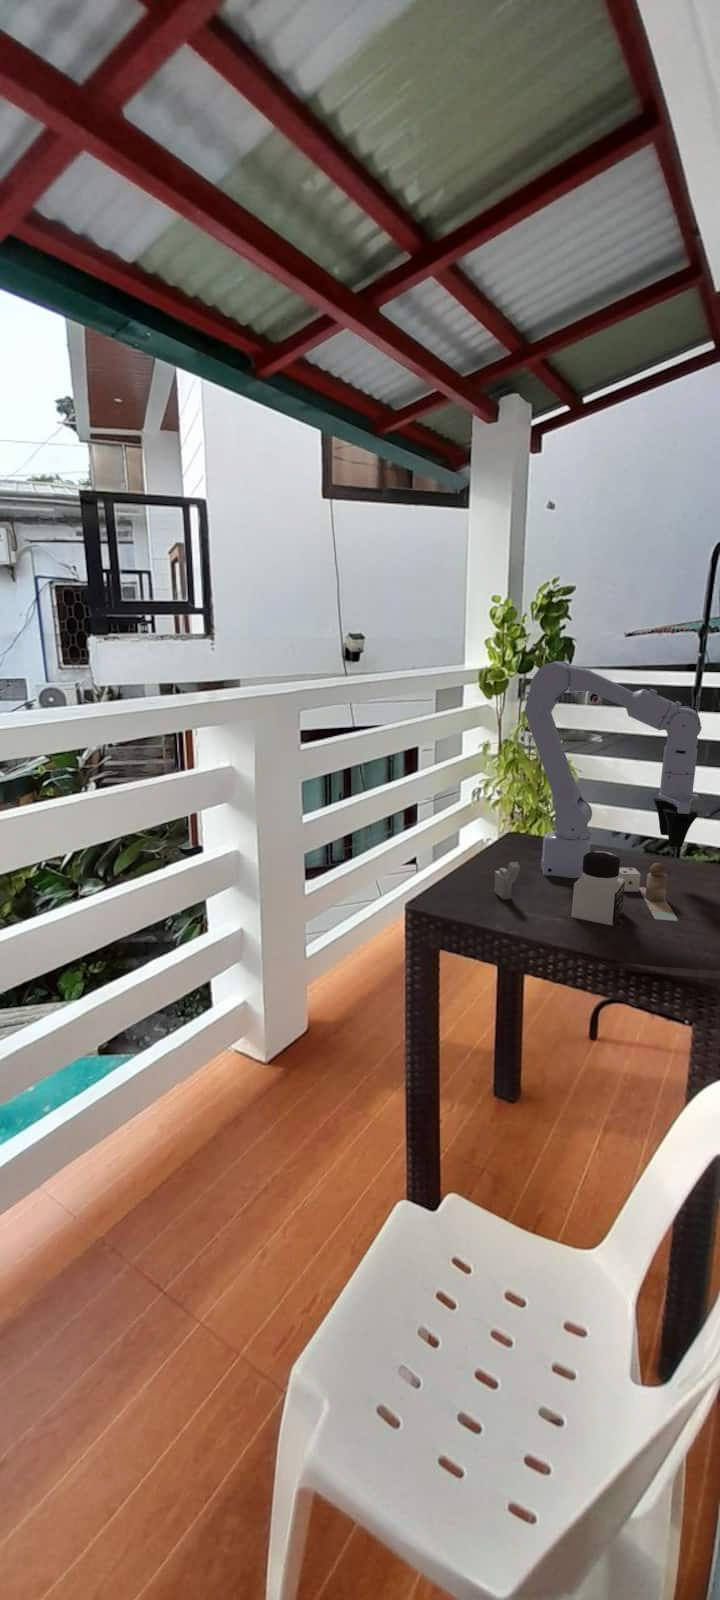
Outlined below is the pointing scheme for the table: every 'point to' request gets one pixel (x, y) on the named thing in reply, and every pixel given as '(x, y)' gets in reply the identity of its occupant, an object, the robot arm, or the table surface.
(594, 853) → the medicine bottle
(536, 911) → the table surface
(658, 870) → the pawn
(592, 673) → the robot arm
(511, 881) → the grey notched upright piece
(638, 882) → the die
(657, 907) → the board
